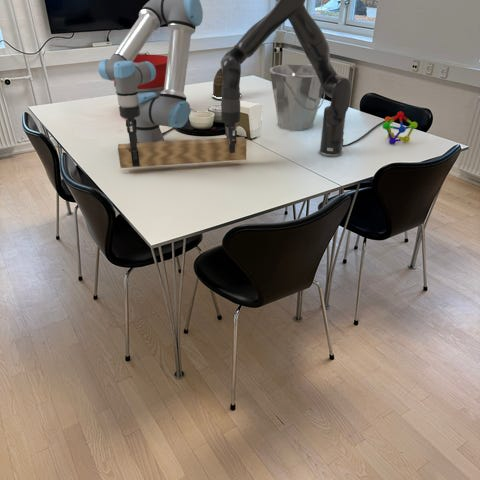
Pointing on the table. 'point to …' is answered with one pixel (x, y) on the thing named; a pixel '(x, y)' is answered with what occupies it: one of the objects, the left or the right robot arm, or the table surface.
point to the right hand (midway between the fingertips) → (230, 150)
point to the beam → (182, 152)
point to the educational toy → (398, 128)
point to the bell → (218, 84)
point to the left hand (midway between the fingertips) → (136, 163)
